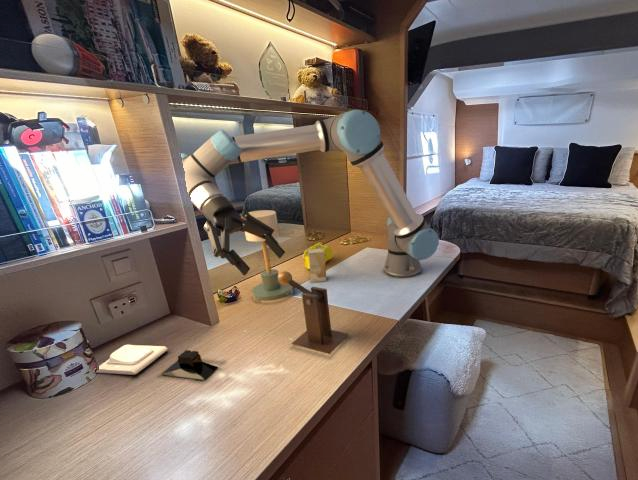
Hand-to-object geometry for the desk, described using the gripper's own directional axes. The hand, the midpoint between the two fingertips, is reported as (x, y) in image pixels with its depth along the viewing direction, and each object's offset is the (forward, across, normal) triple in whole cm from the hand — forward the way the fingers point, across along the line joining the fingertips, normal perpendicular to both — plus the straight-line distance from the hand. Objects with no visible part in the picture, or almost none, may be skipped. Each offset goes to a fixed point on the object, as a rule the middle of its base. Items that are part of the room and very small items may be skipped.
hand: (265, 263), depth 91 cm
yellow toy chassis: (0, -53, -31) cm, 61 cm away
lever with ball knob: (+12, 0, +1) cm, 12 cm away
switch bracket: (+26, 0, -5) cm, 26 cm away
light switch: (-4, +26, -35) cm, 44 cm away
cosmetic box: (+8, -38, -24) cm, 45 cm away
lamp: (+2, -20, -29) cm, 35 cm away
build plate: (+9, +22, -22) cm, 32 cm away
